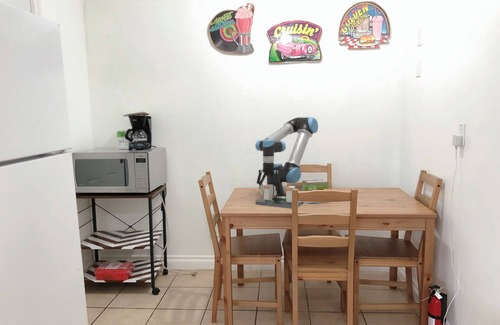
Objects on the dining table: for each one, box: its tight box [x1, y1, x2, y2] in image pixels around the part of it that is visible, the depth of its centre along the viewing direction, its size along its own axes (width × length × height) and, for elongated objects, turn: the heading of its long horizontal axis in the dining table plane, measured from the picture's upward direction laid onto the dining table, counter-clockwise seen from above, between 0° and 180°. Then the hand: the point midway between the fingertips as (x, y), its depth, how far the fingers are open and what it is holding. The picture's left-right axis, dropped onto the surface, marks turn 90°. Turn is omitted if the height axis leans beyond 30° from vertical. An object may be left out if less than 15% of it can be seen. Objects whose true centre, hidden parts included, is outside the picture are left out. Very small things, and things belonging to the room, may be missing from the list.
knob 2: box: [285, 185, 296, 203], centre depth 232 cm, size 8×5×10 cm, turn 154°
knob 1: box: [263, 184, 274, 201], centre depth 239 cm, size 8×5×10 cm, turn 154°
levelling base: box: [255, 195, 304, 209], centre depth 236 cm, size 16×28×4 cm, turn 64°
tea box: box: [301, 178, 329, 204], centre depth 241 cm, size 15×10×15 cm
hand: (268, 194), depth 239 cm, fingers open, 9 cm apart
